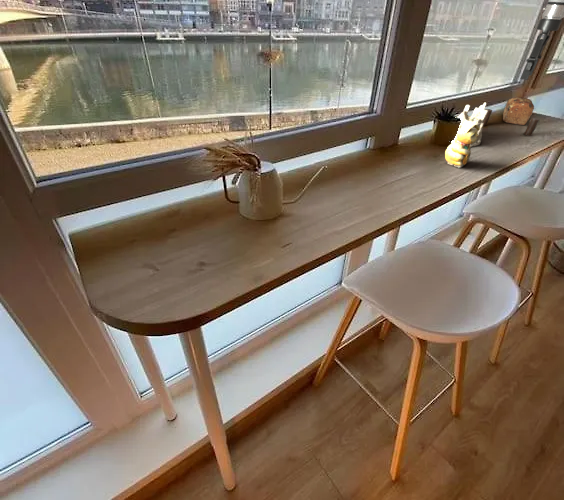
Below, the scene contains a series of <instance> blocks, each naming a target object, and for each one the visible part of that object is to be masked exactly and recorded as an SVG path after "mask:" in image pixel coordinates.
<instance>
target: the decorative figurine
mask: <svg viewBox="0 0 564 500" xmlns="http://www.w3.org/2000/svg"><path fill="white" fill-rule="evenodd" d="M476 123H477V121H474V122H472V123H470V124H469V125H468V126H467V127H463V128H461V129H460V130H459V131H458V133H457V139H456V140H455V142H453V143H452V142H451V143H450V144H449V145H448V146H447V148H446V149H445V152H444V157H445V161H446V162H447V165H450V166H453V167H456V168H458V169H460V168H463V167H464V166H465V165H467V163H468V161H469V160H470V158H471V153H472V151H471V148H472V147H471V145H470V144H472V143H473V142H475V141H476V140H477V139H478V134H477V133H478V130H480V125H477V124H476ZM475 124H476V125H475Z"/></svg>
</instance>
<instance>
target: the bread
mask: <svg viewBox="0 0 564 500" xmlns="http://www.w3.org/2000/svg"><path fill="white" fill-rule="evenodd" d="M534 110H535V105H534V103H533V100H532V99H530V98H527V97H522V96H515V97H512V98H509V99H508V100H507V102H506V103H505V107H504V110H503V111H502V112H503V113H502V120H503V122H504V123H507V124H513V125H514V124H515V125H519V126H525V125H526V124H528V123H527V122H528V121H529V119H530V118H531V117H532V114H533V112H534Z"/></svg>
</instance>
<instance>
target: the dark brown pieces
mask: <svg viewBox="0 0 564 500" xmlns="http://www.w3.org/2000/svg"><path fill="white" fill-rule="evenodd" d="M485 110H488V111H487V113H486V116H485V119H484V123H483V127H486V126H487V125H488V122H489V120H490V118H491V115H492V113H493V110H492V109H491V108H485ZM539 122H540V118H537V117H532V118H531V119H530V121H529V123H528V125H527V126H526V128H525V131H524V133H523V135H524V136H527V137H531V136H533V134H534V132H535V129H536V128H537V125H538V124H539Z"/></svg>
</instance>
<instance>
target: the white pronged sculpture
mask: <svg viewBox="0 0 564 500" xmlns="http://www.w3.org/2000/svg"><path fill="white" fill-rule="evenodd" d="M486 106H487V102H484V103H483V104H481V105H480V106H479V107H475V108H474V110H473V112H472V114H471V115H469V114H468V113H469V111H470V107H471V105H470V104H466V105H465V107H464V109H463V111H462V112H460V114H458V115H457V116H456V117H458V118H460V120H461V123H460V125H459V128H458V131H459V130H460V129H461V128H463V127H467V126H468V125H469V124H470V123H472V122H474V121H477V123H476V124H477V125H480V130H478V133H477V134H478V139H477V140H476V141H475V142H473V143H472V144H470V145H471V148H472V147H476V146H479V145H481V142H482V137H483V127H484V126H483V123H484V119H485V116H486V113H487V111H488V110H485V109H486ZM476 124H475V125H476ZM458 131H457V133H458ZM456 139H457V134H456V136H455V138H454V140H452V141H451V142H450V143H451V144H452V143H453V142H455V140H456Z"/></svg>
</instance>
